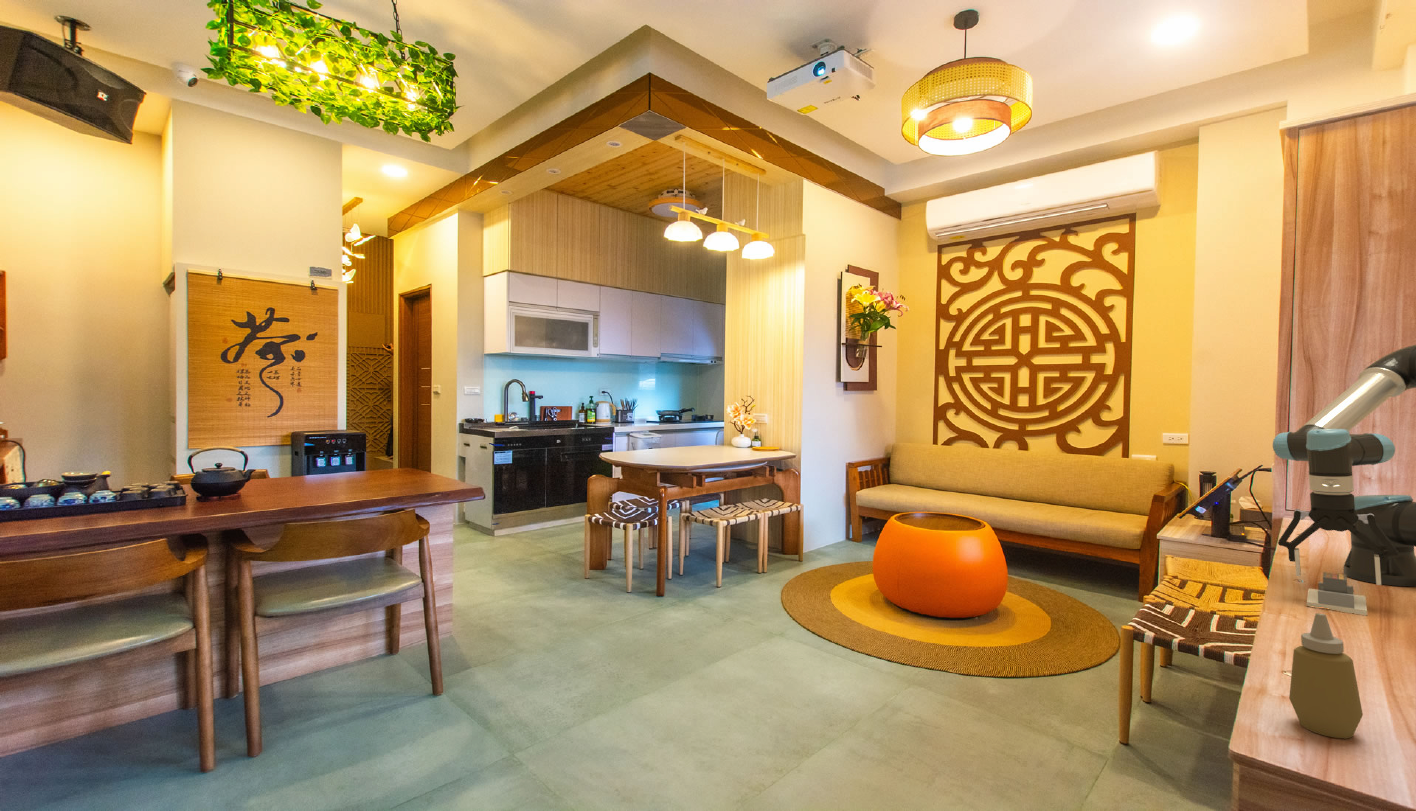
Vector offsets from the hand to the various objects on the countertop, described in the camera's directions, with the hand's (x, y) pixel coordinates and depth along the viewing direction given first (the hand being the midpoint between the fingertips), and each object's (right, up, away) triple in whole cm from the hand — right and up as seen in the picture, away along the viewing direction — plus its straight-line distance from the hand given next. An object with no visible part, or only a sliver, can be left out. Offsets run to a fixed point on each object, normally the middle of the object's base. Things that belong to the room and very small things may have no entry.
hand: (1337, 579), depth 148 cm
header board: (+1, -6, +1) cm, 7 cm away
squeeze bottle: (-57, -9, -53) cm, 78 cm away
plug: (-1, -5, 0) cm, 5 cm away
